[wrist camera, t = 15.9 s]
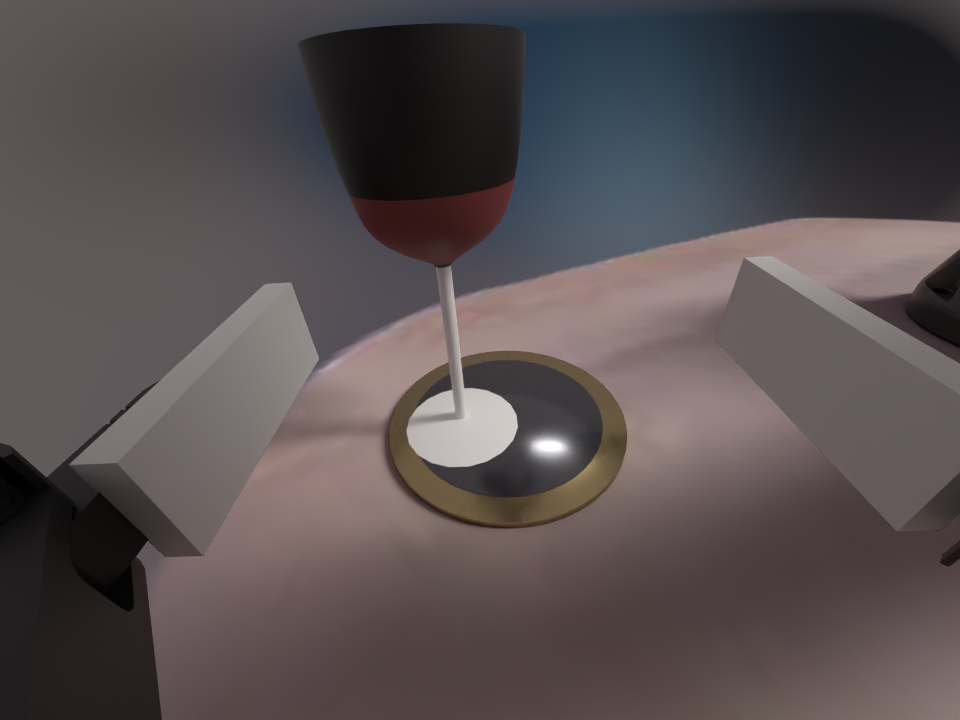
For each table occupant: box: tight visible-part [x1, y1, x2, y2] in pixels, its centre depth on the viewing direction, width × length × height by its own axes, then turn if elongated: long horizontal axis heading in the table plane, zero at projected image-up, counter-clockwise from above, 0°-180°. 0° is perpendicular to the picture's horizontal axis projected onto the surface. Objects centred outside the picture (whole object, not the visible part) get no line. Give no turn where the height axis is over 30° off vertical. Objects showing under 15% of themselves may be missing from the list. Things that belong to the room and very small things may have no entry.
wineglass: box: [298, 23, 525, 467], centre depth 20 cm, size 8×9×20 cm
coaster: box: [389, 351, 627, 528], centre depth 27 cm, size 16×16×1 cm
